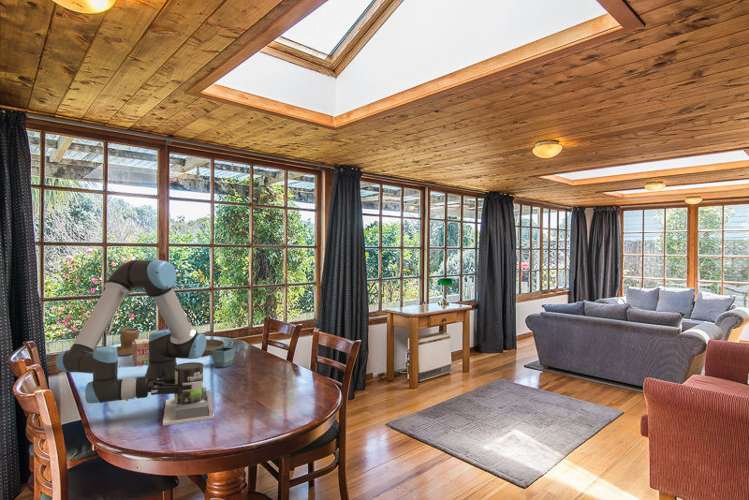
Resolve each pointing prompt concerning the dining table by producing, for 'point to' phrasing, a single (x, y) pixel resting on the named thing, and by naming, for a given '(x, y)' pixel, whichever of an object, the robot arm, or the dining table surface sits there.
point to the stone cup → (127, 340)
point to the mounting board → (170, 414)
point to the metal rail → (209, 403)
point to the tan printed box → (140, 352)
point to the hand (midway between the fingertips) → (200, 381)
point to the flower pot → (223, 356)
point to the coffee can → (188, 375)
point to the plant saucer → (212, 346)
